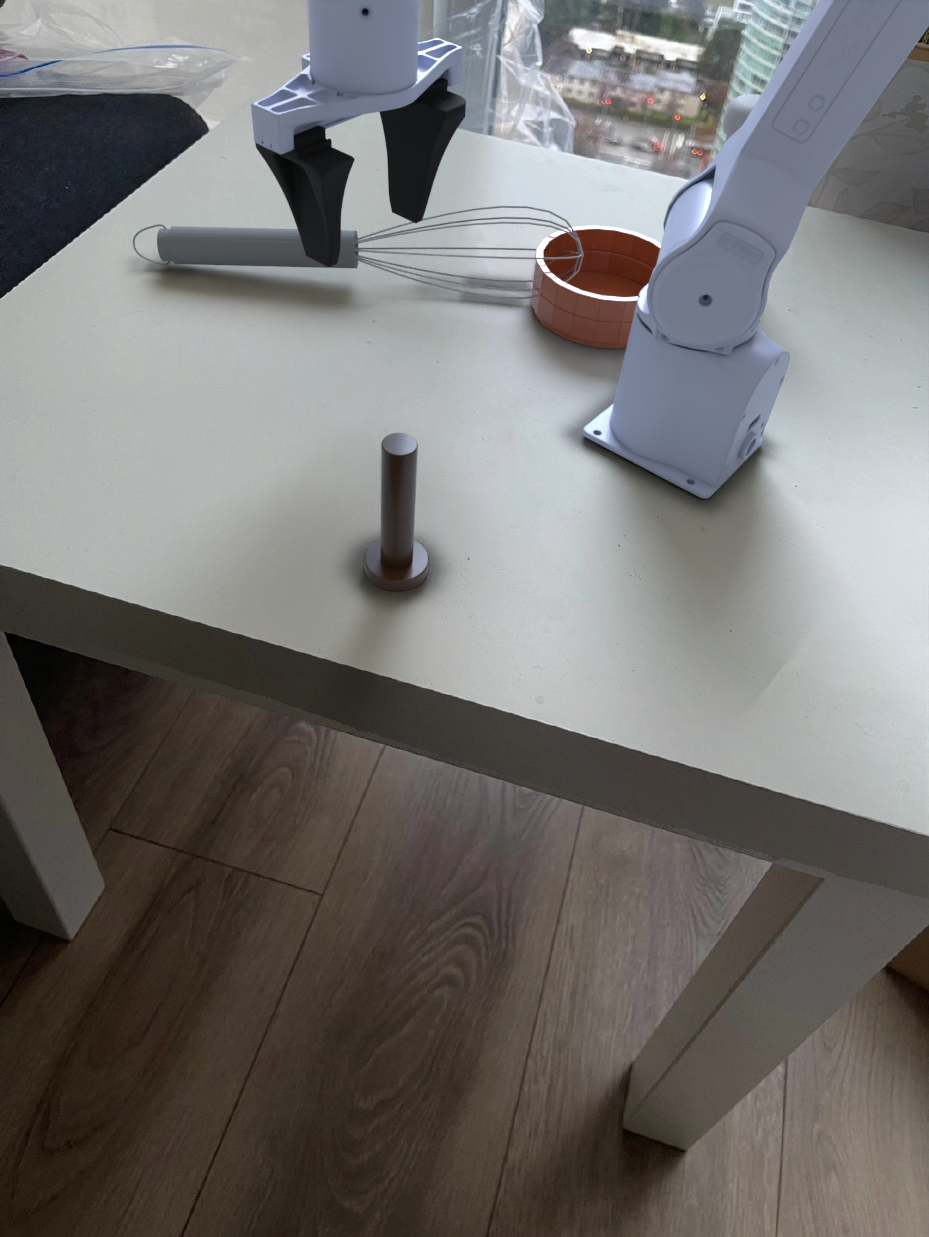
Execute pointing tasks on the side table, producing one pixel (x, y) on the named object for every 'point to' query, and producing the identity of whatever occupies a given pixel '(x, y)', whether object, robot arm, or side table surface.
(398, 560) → the coffee tamper
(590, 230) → the bowl
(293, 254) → the kitchen whisk
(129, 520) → the side table surface
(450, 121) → the robot arm
